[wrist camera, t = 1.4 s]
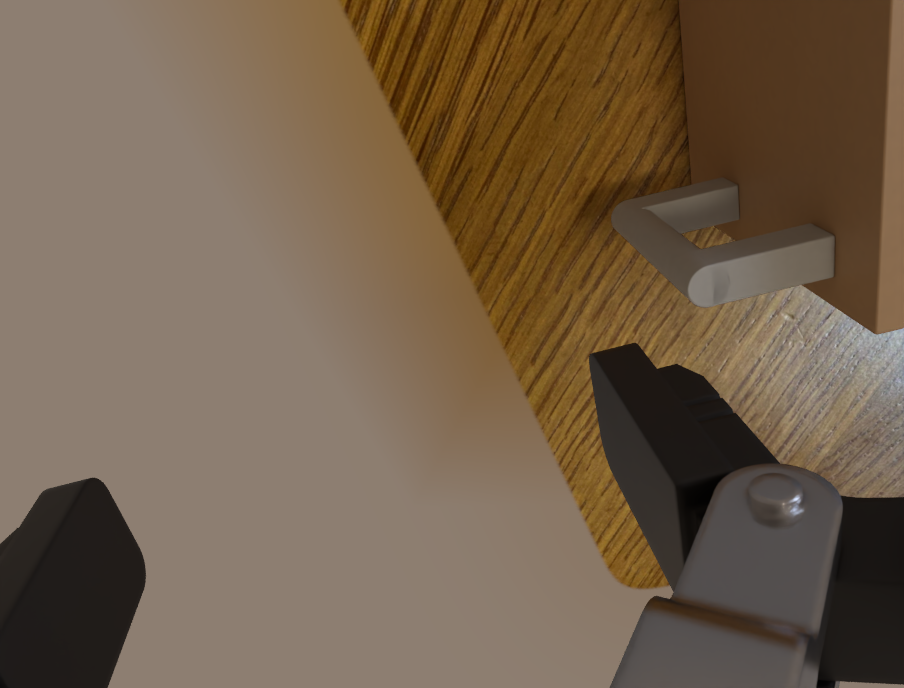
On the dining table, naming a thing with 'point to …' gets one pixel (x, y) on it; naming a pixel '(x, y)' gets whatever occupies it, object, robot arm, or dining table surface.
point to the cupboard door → (787, 157)
